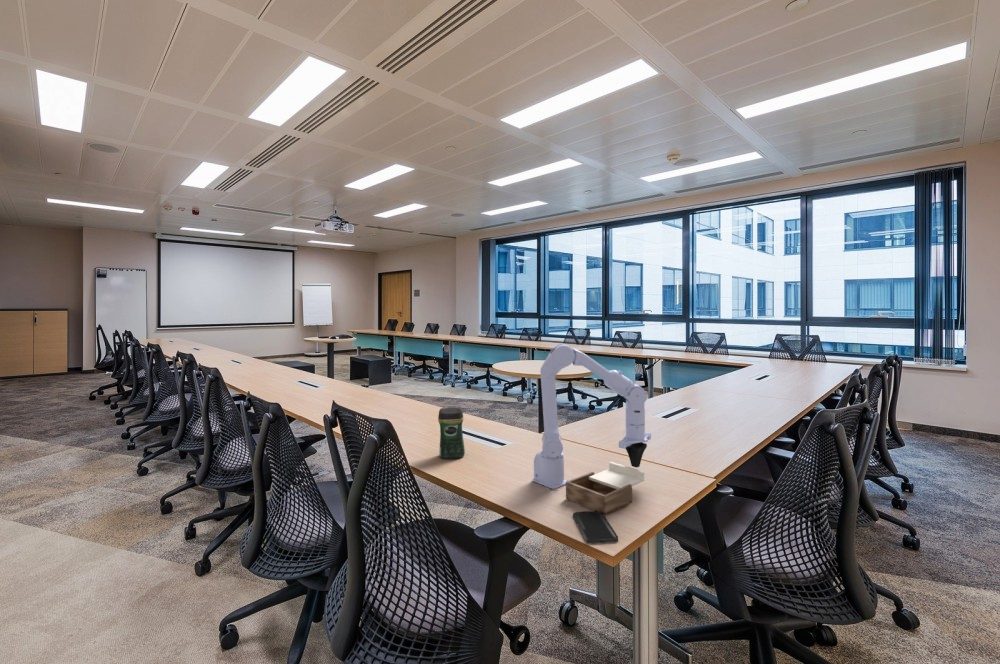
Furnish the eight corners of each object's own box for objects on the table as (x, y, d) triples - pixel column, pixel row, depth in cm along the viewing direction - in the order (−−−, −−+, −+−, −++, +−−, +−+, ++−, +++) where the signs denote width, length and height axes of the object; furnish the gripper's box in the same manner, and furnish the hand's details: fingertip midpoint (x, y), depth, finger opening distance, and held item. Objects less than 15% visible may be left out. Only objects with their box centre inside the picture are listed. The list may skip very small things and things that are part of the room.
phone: (600, 510, 119) (619, 538, 104) (601, 514, 119) (619, 543, 104) (571, 512, 119) (586, 540, 104) (572, 516, 119) (586, 545, 104)
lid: (588, 479, 133) (588, 470, 133) (611, 470, 140) (611, 461, 140) (622, 491, 124) (622, 481, 124) (644, 480, 131) (644, 471, 131)
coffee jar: (464, 452, 173) (463, 405, 172) (464, 459, 165) (463, 409, 164) (439, 453, 173) (438, 406, 172) (438, 460, 165) (437, 410, 164)
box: (566, 498, 129) (565, 481, 128) (592, 487, 136) (592, 471, 136) (605, 515, 118) (605, 496, 118) (631, 502, 125) (631, 484, 125)
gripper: (632, 430, 130) (633, 475, 131) (659, 421, 139) (659, 464, 140) (612, 425, 136) (613, 469, 136) (639, 417, 145) (640, 458, 145)
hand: (635, 466), depth 138 cm, fingers closed
